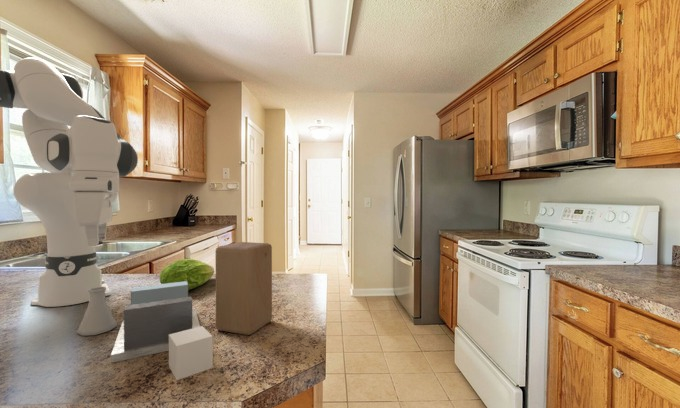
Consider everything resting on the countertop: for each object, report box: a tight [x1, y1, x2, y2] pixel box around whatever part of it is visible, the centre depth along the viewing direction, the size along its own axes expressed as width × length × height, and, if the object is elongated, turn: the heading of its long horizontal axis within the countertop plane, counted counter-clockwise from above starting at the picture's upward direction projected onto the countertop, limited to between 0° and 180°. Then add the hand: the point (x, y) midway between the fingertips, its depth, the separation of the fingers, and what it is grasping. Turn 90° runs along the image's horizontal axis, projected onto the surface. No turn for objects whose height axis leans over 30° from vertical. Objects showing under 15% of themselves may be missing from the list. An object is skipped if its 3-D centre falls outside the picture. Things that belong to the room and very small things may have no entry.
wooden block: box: [215, 241, 273, 336], centre depth 75 cm, size 10×10×20 cm
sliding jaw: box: [130, 281, 189, 305], centre depth 76 cm, size 4×12×8 cm, turn 120°
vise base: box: [110, 296, 201, 364], centre depth 70 cm, size 19×16×10 cm
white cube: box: [168, 325, 214, 381], centre depth 57 cm, size 6×6×6 cm
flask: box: [76, 287, 118, 336], centre depth 73 cm, size 7×7×10 cm
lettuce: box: [159, 258, 215, 291], centre depth 110 cm, size 12×24×13 cm
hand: (97, 243), depth 73 cm, fingers open, 8 cm apart
